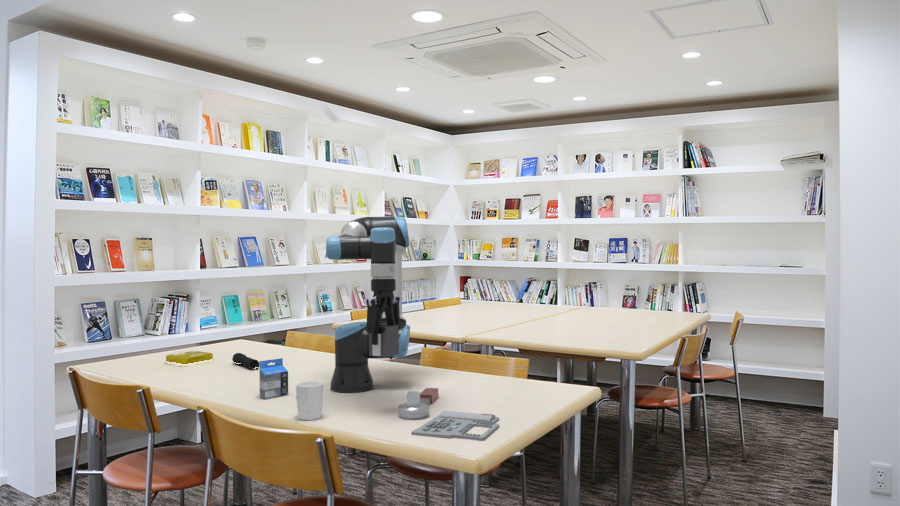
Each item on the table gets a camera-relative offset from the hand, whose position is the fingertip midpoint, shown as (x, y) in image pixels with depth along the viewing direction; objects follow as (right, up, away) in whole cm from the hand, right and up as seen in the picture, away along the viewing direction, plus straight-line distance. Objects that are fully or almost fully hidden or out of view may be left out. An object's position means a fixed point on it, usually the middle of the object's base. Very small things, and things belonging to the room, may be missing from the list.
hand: (384, 353), depth 194 cm
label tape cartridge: (-40, -18, +23) cm, 49 cm away
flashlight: (-67, -18, +79) cm, 105 cm away
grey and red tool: (+11, -18, +5) cm, 21 cm away
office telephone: (+23, -18, -17) cm, 34 cm away
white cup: (-21, -18, -5) cm, 29 cm away
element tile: (-96, -19, +90) cm, 133 cm away
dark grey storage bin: (0, 0, 0) cm, 0 cm away
